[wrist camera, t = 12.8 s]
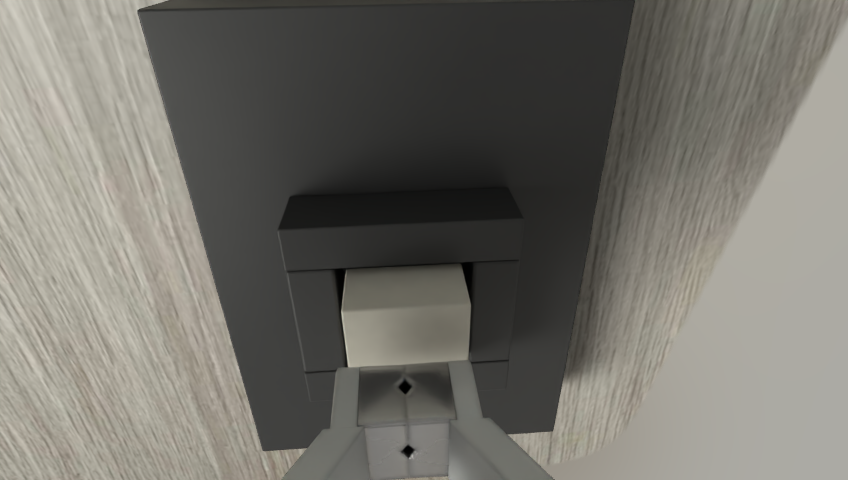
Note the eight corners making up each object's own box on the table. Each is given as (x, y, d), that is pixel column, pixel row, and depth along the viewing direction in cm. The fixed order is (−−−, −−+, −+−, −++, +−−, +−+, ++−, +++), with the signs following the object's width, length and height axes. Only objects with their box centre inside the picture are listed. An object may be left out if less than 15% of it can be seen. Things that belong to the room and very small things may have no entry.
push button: (461, 262, 13) (471, 304, 11) (458, 347, 14) (467, 394, 13) (345, 267, 13) (340, 311, 11) (355, 353, 14) (352, 401, 13)
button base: (600, -10, 13) (676, 8, 10) (538, 387, 21) (568, 475, 17) (172, -2, 12) (93, 21, 9) (273, 404, 20) (251, 498, 17)
